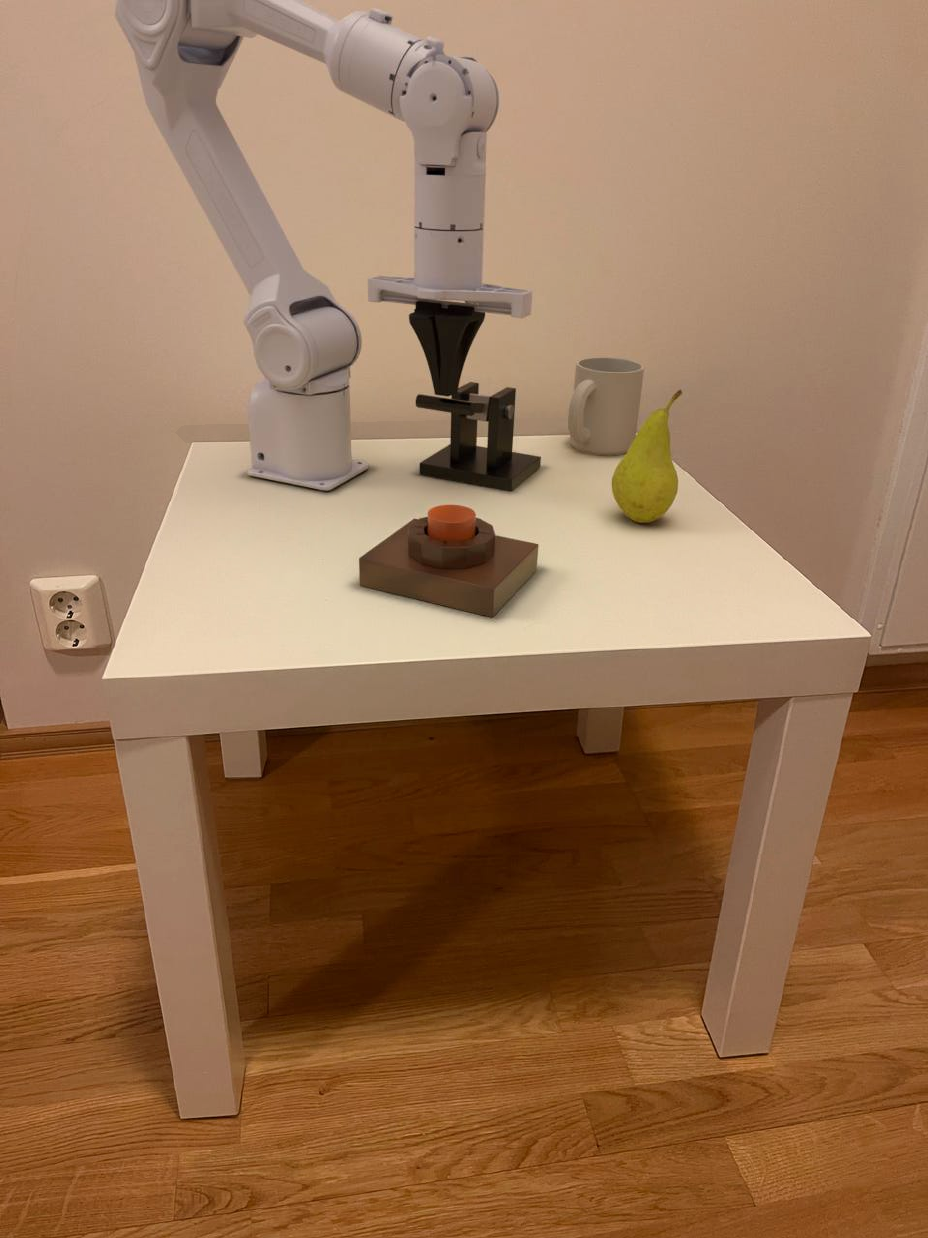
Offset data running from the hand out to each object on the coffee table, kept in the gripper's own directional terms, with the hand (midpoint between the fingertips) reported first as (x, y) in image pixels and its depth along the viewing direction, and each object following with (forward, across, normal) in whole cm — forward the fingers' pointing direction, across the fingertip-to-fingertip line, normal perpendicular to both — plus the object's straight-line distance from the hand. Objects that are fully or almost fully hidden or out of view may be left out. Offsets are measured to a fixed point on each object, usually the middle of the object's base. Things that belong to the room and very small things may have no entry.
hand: (446, 393), depth 81 cm
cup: (+10, +8, +22) cm, 25 cm away
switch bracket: (+10, 0, +9) cm, 13 cm away
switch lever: (+4, 0, +4) cm, 6 cm away
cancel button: (+6, +8, -15) cm, 18 cm away
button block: (+10, +8, -15) cm, 20 cm away
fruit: (+10, +18, +4) cm, 21 cm away
